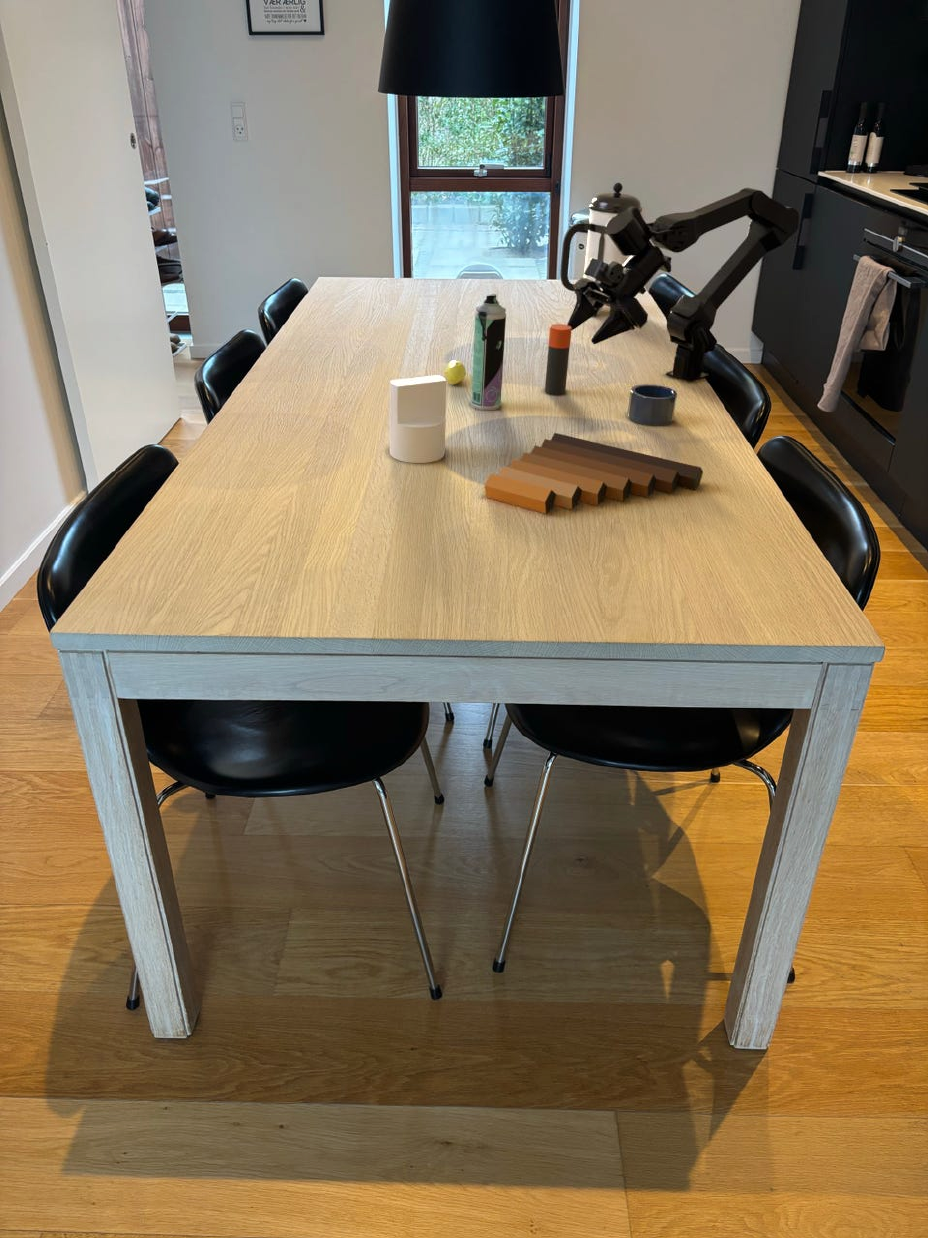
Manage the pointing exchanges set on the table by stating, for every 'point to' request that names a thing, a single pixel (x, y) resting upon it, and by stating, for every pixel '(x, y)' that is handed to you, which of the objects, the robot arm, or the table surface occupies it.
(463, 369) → the yellow potato
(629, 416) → the pen cup
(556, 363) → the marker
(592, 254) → the coffee press
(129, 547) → the table surface
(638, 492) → the pan flute
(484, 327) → the spray can
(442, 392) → the base with upright slab
